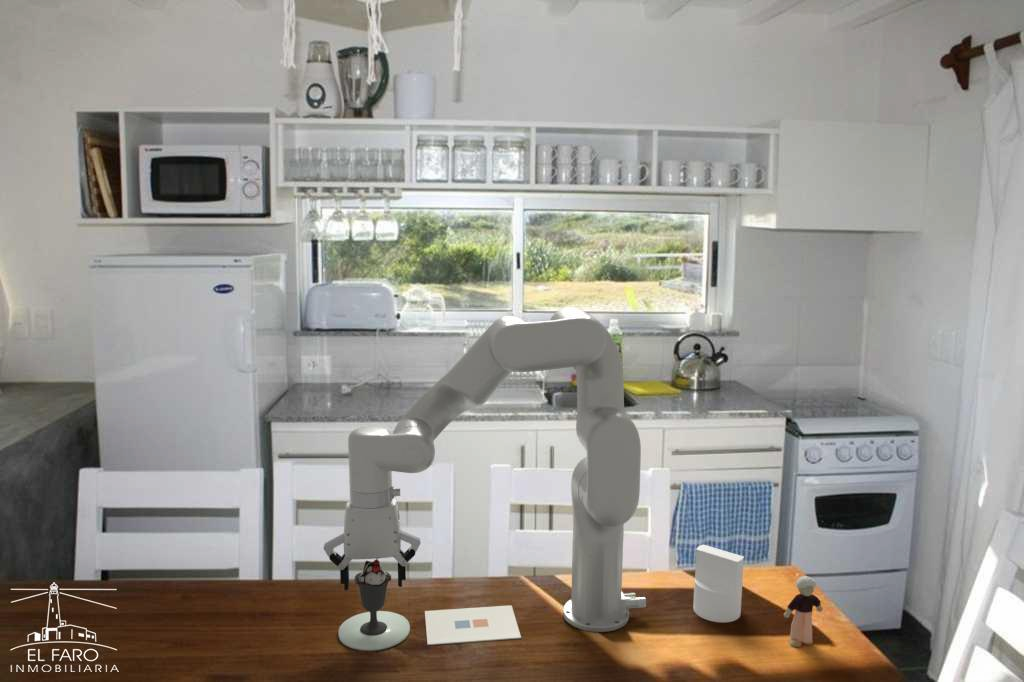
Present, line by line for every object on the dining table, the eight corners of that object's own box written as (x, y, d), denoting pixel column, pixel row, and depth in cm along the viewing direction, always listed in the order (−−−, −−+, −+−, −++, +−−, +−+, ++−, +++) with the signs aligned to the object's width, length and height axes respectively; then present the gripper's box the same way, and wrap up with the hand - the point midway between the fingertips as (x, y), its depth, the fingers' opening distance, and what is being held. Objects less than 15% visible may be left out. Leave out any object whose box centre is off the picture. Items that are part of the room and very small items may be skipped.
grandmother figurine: (795, 652, 145) (799, 585, 142) (778, 641, 148) (783, 576, 146) (825, 641, 148) (831, 576, 146) (809, 631, 151) (814, 567, 149)
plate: (409, 611, 158) (409, 608, 158) (410, 647, 145) (410, 644, 145) (340, 616, 156) (340, 613, 156) (336, 653, 143) (336, 650, 143)
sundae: (384, 640, 146) (383, 562, 144) (349, 635, 148) (348, 557, 145) (397, 622, 153) (397, 546, 150) (364, 617, 154) (363, 542, 152)
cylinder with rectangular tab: (748, 609, 160) (751, 551, 158) (727, 627, 153) (731, 567, 151) (706, 595, 165) (709, 539, 163) (684, 611, 159) (687, 553, 157)
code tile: (511, 606, 160) (511, 605, 160) (521, 638, 149) (521, 637, 148) (424, 612, 158) (424, 610, 158) (427, 645, 146) (427, 644, 146)
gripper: (419, 486, 151) (420, 573, 154) (323, 491, 148) (326, 579, 151) (420, 501, 144) (421, 591, 147) (320, 506, 141) (323, 598, 144)
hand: (373, 585), depth 149 cm, fingers open, 9 cm apart
